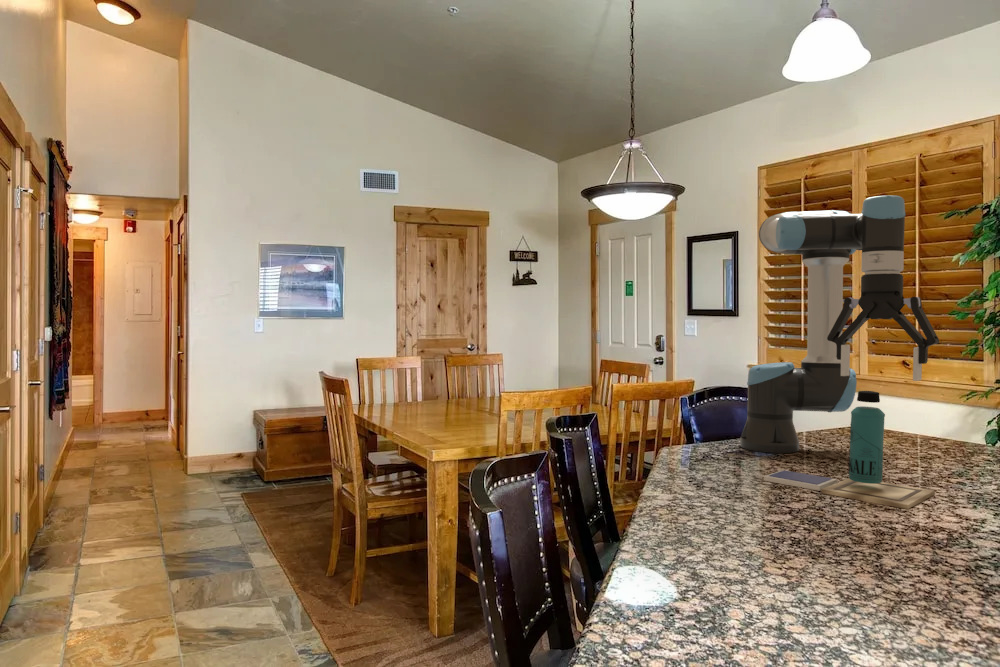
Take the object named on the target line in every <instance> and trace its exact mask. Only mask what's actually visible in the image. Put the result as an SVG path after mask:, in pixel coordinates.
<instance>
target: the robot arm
mask: <svg viewBox="0 0 1000 667" xmlns="http://www.w3.org/2000/svg"><path fill="white" fill-rule="evenodd" d="M861 209H862V210H861V213H850V212H848V211H847V210H834V209H830V210H808V211H806V210H805V211H804V210H803V211H785V212H781V213H776V214H774V215H771V216H768V218H766V219H765V220H764V221H763V222H762V223H761V225H760V226H759V231H758V238H759V241H760V243H761V245H762V246H763V247H764V248H765V249H766V250H769V251H771V252H774V253H778V254H784V255H801V262H802V264H804V265H805V266H806V267H807V336H806V337H807V345H806V346H807V348H806V349H807V351H806V352H807V353H806V356H805V357H804V358H803V359H802V360H801V361H800V365H801V366H800V367H795V365H794V363H793V362H789V361H788V362H785V361H784V362H771V363H764V364H758V365H753V366H752V367H750V369H749V370H748V375H747V382H746V385H747V410H746V411H747V413H746V414H747V416H746V417H747V418H746V421H745V423H744V424H745V425H744V427H743V430H742V433H741V436H740V437H739V438H740V440H739V441H740V442H739V445H740V448H742V449H744V450H749V451H754V452H761V453H771V454H772V453H773V454H776V453H777V454H787V453H788V454H789V453H796V452H799V451H800V441H799V440H800V439H799V437H798V434H797V431H796V427H795V425H794V419H793V418H794V417H793V416H794V411H795V412H796V411H797V412H801V411H803V412H804V411H805V412H824V413H835V412H836V413H841V412H846V411H847V410H849V409H850V408H851V406H852V404H853V402H854V399H855V396H856V391H857V373H856V371H855V370H854V369H853V368H851V367H850V366H851V365H850V363H851V362H850V359H851V358H850V357H851V345H850V344H847V343H848V341H850V339H852V337H853V336H854V335H855V334H856V333H857V332H858V331H859V329H861V327H862V326H863V325H864V324H865V323H866V322H867V321H868V320H870V319H871V320H892V319H893V320H894V321H895V322H897V324H898V325H899V326H900V328H902V330H904V332H905V333H906V334H907V335H908V336H909V337H910V338H911V339H912V341H913V342H914V343H915V344H916V345H917V347H913V354H912V355H913V358H912V360H913V361H912V381H913V382H918V381H922V380H923V378H922V377H923V376H922V375H923V373H922V372H923V365H926V364H927V363H928V361H929V359H928V355H929V353H928V352H929V348H930V347H931V346H934V345H937V344H939V342H940V339H939V337H938V335H937V333H936V331H935V329H934V328H933V325H932V324H931V322H930V320H929V318H928V317H927V315H926V312H925V311H924V309H923V304H922V299H921V297H919V296H912V297H909V298H908V297H907V298H905V297H904V295H903V294H904V275H903V274H902V273H901V272H903V271H904V269H905V268H904V266H905V264H904V259H905V257H904V256H905V253H904V251H905V250H904V247H905V222H906V221H905V220H906V205H905V198H903V197H902V196H900V195H891V194H890V195H877V196H870V197H867V198H865V199H864V200H863V202H862V208H861ZM856 251H861V272H862V273H864V274H862V275H861V277H860V297H859V298H853V297H845V298H844V296H843V295H844V294H843V292H844V289H843V288H844V286H843V285H844V267H845V265H846V264H847V263H848V262H849V261H850V255H853V254H854V253H855V252H856ZM843 299H844V300H843ZM905 305H907V308H909V309H911V312H912V314H913V316H914V317H915V320H916V321H917V322H918V325H919V327H920V329H921V330H922V333H923V335H924V336H925V337H924V336H923V335H922V333H920V332H919V330H918V329H917V328H916V327H915V326H914V325H913V324H912V322H911V321H910V320H909V319H907V317H906V315H905V314H904V313H903V312H902V311H901V310H902V309H903V308H904V307H905ZM857 306H859V308H861V312H860V313H859V314H858V315H857V316H856V318H855V319H854V320H853V321H852V323H851V324H850V325H849V326H848V327H847V328H846V329H845V330H844V328H845V326H846V324H847V322H848V320H849V319H850V317H851V314H852V313H853V311H854V309H856V308H857ZM843 330H844V331H843Z"/></svg>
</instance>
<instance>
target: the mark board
mask: <svg viewBox="0 0 1000 667" xmlns="http://www.w3.org/2000/svg"><path fill="white" fill-rule="evenodd" d="M820 492H821V494H824V495H830V496H831V495H832V496H835V497H840V498H841V497H842V498H846V499H852V500H855V501H856V500H857V501H861V502H862V501H863V502H867V503H873V504H878V505H885V506H889V507H894V508H900V509H905V510H909V509H911V508H912V507H915V506H916V505H918V504H920V503H922V502H924V501H925V500H927V499H928V498H931V497H933V496H934V495H935V490H933V489H928V488H927V489H926V488H919V487H913V486H908V485H902V484H896V483H889V482H883V481H882V482H881V483H877V484H870V483H861V482H856V481H853V480H851V479H850V478H849V477H848V478H846V479H844V480H840V481H837V483H836V484H833V485H831V486H828V487H825V488H823V489H821V490H820Z"/></svg>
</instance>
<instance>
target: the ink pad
mask: <svg viewBox="0 0 1000 667" xmlns="http://www.w3.org/2000/svg"><path fill="white" fill-rule="evenodd" d="M763 481H764V482H769V483H775V484H781V485H787V486H790V487H791V486H793V487H796V488H801V487H802V489H808V490H811V491H820V492H821V489H823V488H825V487H828V486H831V485H833V484H836V483H838V479H837V478H832V477H826V476H821V475H815V474H809V473H801V472H797V471H790V470H786V469H785V470H783V469H782V470H779V471H776V472H773V473H770V474H766V475H764V476H763Z"/></svg>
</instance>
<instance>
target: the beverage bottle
mask: <svg viewBox="0 0 1000 667" xmlns="http://www.w3.org/2000/svg"><path fill="white" fill-rule="evenodd" d="M856 401H857V402H863V403H871V404H872V403H876V404H877V403H880V401H881V400H880V392H877V391H874V390H859V391H858V392H857V398H856ZM885 417H886V414H885V412H884V411H883V410H882V409H880V408H878V407H874V406H866V405H865V406H860V405H859V406H856V407H854V409H852V410H851V411H850V424H849V425H850V429H849V435H848V436H849V448H848V453H849V456H848V464H847V465H848V473H847V475H848V478H850V479H851V480H853V481H856V482H861V483H870V484H877V483H881V482H883V475H884V473H883V472H884V435H885V434H884V432H885Z"/></svg>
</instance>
